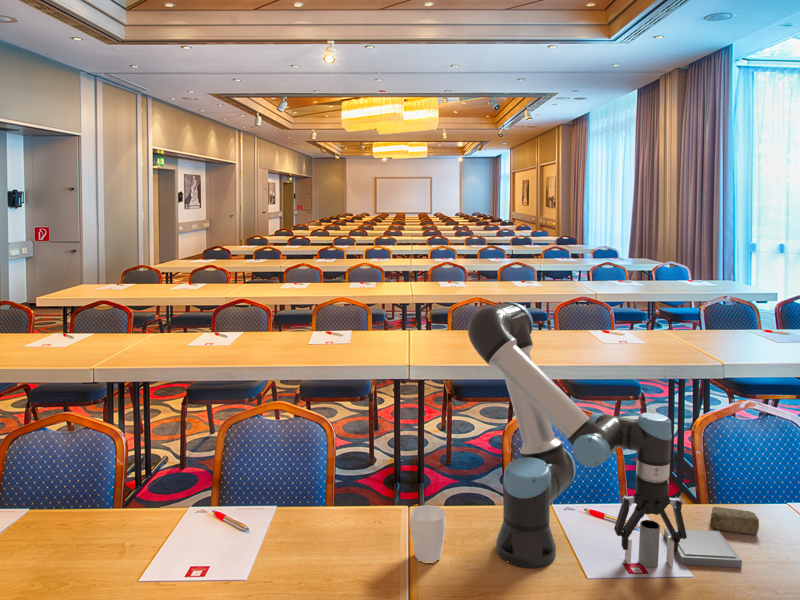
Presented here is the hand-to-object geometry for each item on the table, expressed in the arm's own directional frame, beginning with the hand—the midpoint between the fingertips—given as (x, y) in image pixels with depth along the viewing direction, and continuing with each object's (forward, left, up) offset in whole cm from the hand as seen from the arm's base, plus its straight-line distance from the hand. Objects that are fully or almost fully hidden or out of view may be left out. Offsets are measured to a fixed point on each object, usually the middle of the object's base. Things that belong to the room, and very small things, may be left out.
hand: (648, 562), depth 149 cm
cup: (-55, -3, 0) cm, 55 cm away
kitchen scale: (+15, +7, 0) cm, 16 cm away
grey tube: (0, 0, 0) cm, 0 cm away
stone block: (+28, +20, -1) cm, 34 cm away
